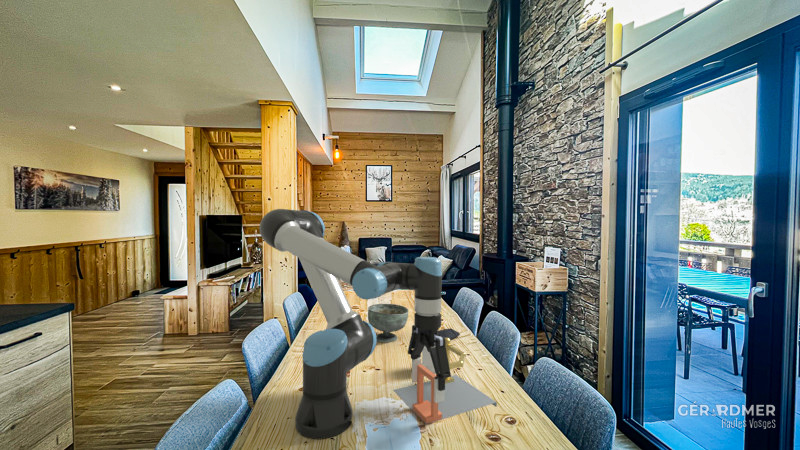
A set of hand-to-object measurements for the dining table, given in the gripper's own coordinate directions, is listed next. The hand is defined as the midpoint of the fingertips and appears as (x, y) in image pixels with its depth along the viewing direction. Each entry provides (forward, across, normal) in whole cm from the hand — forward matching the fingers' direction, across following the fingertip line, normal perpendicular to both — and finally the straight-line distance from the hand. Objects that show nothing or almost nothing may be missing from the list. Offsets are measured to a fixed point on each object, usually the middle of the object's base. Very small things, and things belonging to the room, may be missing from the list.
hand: (427, 390), depth 90 cm
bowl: (+8, +63, -17) cm, 66 cm away
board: (+8, +6, -10) cm, 14 cm away
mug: (+8, +24, -16) cm, 30 cm away
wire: (+6, +7, -11) cm, 15 cm away
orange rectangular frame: (+6, 0, 0) cm, 6 cm away
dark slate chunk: (+8, +54, -39) cm, 67 cm away
